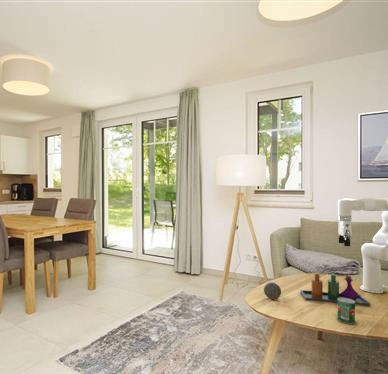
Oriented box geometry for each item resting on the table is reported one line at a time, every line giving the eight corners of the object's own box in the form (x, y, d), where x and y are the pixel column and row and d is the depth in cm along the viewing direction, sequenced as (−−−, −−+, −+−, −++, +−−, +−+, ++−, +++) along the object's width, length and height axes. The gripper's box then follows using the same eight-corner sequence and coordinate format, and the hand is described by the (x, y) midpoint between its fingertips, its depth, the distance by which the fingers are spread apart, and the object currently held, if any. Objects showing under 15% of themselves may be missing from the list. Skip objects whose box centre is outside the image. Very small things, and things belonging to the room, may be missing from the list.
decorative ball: (265, 294, 197) (265, 279, 197) (281, 297, 192) (281, 281, 192) (262, 299, 188) (262, 283, 188) (280, 303, 183) (280, 286, 183)
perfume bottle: (352, 303, 181) (352, 273, 180) (339, 298, 187) (339, 270, 187) (359, 300, 184) (360, 271, 183) (346, 296, 191) (347, 268, 190)
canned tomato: (334, 316, 165) (335, 296, 164) (351, 318, 162) (351, 298, 162) (340, 323, 157) (340, 302, 157) (357, 325, 155) (357, 303, 154)
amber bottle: (320, 296, 192) (321, 272, 192) (323, 299, 186) (323, 275, 186) (310, 295, 194) (310, 271, 194) (312, 298, 188) (313, 274, 188)
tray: (360, 298, 189) (360, 295, 189) (369, 307, 176) (370, 303, 176) (300, 293, 199) (300, 290, 199) (305, 301, 186) (305, 297, 186)
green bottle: (337, 297, 190) (337, 273, 189) (340, 301, 184) (340, 276, 184) (326, 296, 191) (326, 273, 191) (329, 300, 186) (329, 275, 185)
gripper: (356, 220, 187) (356, 247, 187) (346, 217, 203) (345, 242, 204) (342, 220, 189) (342, 247, 189) (333, 216, 205) (333, 241, 206)
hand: (344, 244), depth 197 cm, fingers open, 9 cm apart
